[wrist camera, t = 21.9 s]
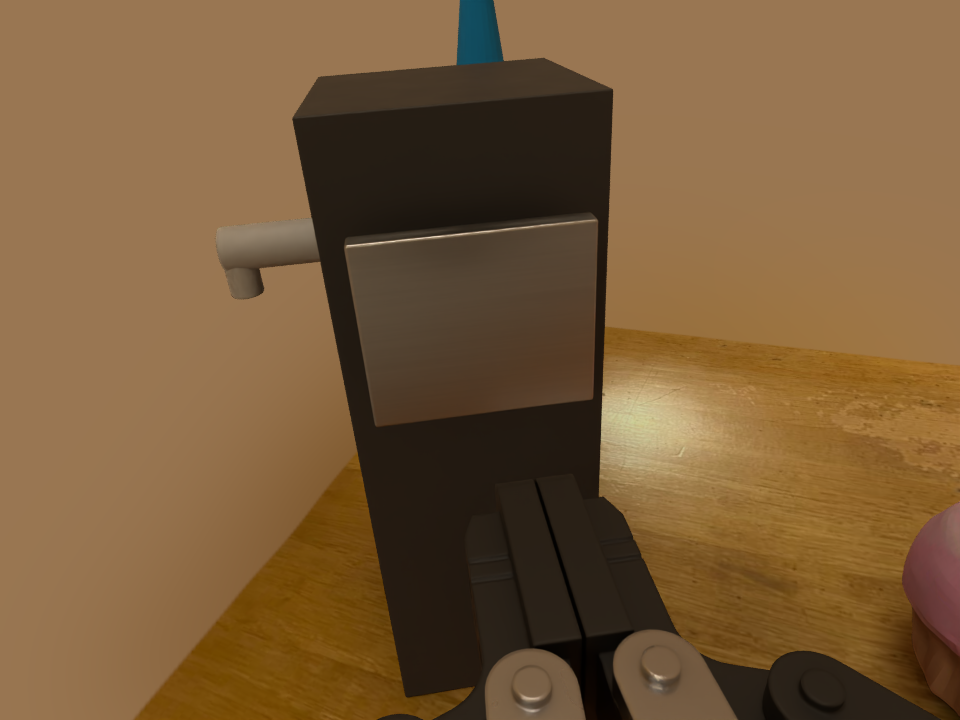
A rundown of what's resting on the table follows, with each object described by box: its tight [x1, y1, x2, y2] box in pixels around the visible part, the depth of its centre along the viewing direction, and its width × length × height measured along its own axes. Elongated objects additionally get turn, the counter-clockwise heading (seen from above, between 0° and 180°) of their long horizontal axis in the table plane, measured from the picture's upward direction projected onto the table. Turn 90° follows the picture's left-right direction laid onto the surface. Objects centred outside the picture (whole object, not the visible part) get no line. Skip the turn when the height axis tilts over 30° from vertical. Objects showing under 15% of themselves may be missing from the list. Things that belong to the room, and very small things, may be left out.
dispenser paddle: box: [344, 212, 598, 427], centre depth 20 cm, size 7×1×6 cm, turn 98°
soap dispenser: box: [216, 58, 613, 697], centre depth 29 cm, size 13×9×26 cm
